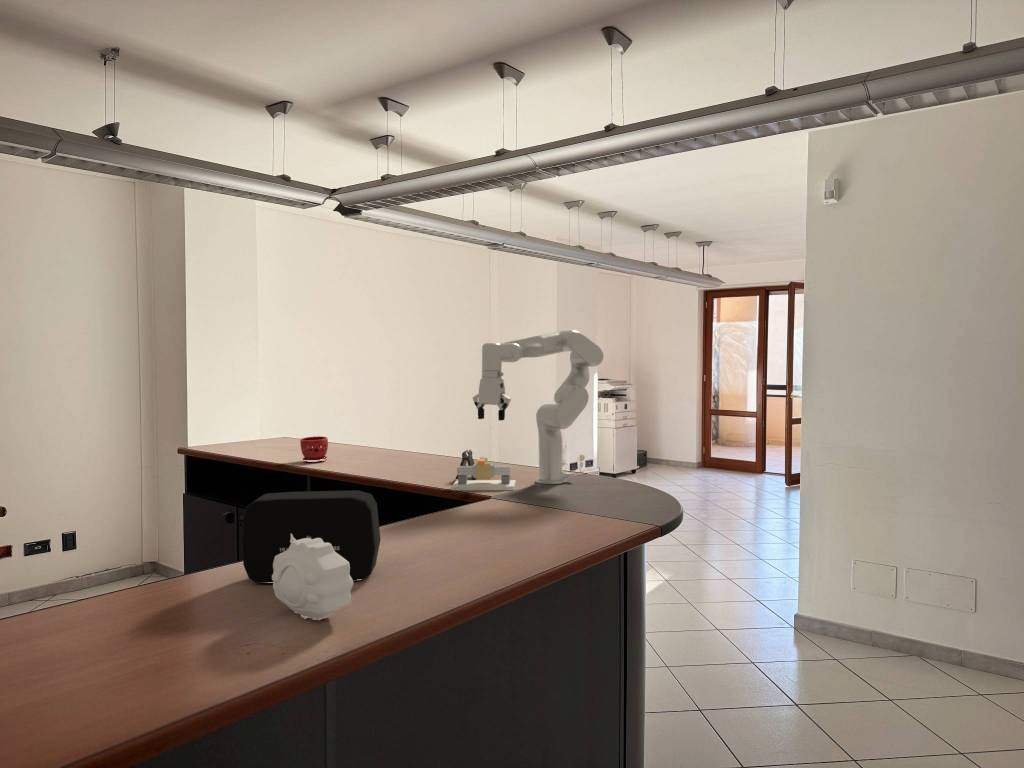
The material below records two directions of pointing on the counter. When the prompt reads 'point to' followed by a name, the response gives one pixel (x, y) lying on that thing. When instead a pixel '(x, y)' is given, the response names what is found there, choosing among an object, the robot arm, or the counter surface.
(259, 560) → the black hard case
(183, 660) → the counter surface
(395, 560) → the counter surface
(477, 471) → the valve pipe
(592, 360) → the robot arm
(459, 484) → the board
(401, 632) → the counter surface
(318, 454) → the plant pot
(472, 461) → the dark grey tall piece
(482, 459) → the valve lever
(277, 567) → the white lumpy lump
